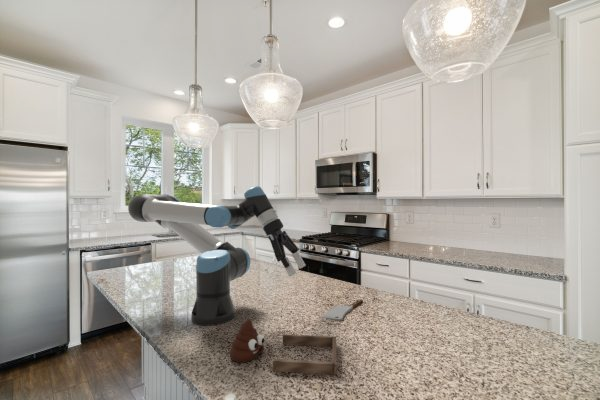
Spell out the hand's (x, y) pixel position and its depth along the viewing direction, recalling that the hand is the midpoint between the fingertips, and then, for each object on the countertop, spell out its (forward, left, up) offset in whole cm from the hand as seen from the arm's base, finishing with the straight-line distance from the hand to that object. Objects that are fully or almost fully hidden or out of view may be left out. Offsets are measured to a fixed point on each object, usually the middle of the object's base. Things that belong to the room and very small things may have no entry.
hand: (298, 270), depth 111 cm
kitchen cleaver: (+17, +5, -16) cm, 24 cm away
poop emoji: (-10, -32, -16) cm, 37 cm away
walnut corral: (+6, -32, -15) cm, 36 cm away
